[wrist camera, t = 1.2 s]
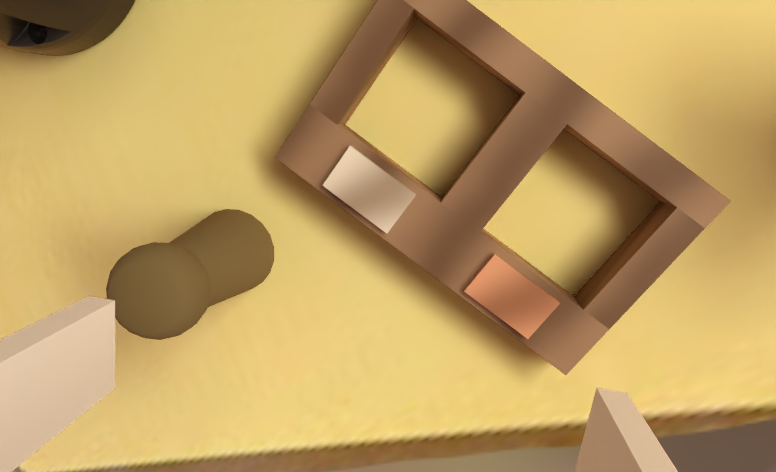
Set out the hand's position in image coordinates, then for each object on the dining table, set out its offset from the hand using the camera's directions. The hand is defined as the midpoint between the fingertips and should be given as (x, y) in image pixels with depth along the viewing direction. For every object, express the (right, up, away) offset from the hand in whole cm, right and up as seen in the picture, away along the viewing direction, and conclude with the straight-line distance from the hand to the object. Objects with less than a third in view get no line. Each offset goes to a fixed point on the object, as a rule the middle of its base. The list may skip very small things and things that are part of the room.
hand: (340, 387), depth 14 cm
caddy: (+8, +8, +19) cm, 22 cm away
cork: (-10, +3, +23) cm, 25 cm away
